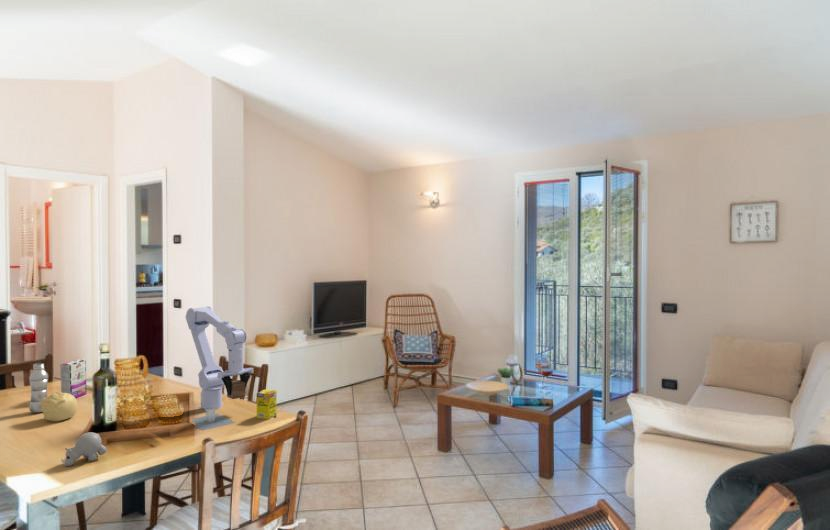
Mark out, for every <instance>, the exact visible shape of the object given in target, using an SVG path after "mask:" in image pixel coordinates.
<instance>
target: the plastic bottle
mask: <svg viewBox="0 0 830 530" xmlns="http://www.w3.org/2000/svg"><path fill="white" fill-rule="evenodd" d="M32 366H33V367H32V369H33V371H32V372H31V374H30V375H29V377H28V380H29V385H30V386H29V387H30V401H29V406H28V408H29V411H30V413H31V414H32V413H33V414H36V413H38V414H39V413H43V411H42V409H41V404H40V402H41V400H42V399H44V398H45V397H46V396H48V382H49V373H48V372H47V371H46V370H45V363H43V362H42V363H40V362H38V363H34V364H32Z"/></svg>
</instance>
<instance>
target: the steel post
mask: <svg viewBox="0 0 830 530" xmlns="http://www.w3.org/2000/svg"><path fill="white" fill-rule="evenodd" d="M215 414H216V409H215V408H212V407H211V408H206V410H205V416H206V422H207V423H211V422H215Z"/></svg>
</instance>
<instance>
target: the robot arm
mask: <svg viewBox="0 0 830 530" xmlns="http://www.w3.org/2000/svg"><path fill="white" fill-rule="evenodd" d="M185 321H186V323H187V326H188V329H189V331H190V333H191V337H192V340H193V342H194V346H195V349H196V351H197V355H198V359H199V361H200V365H201V370H199V372H198V374H197V375H198V384H199V387H200V388H201V389H202V390H201V392H200V407H198V409H199V410H201V409H204V410H205V411H206V408H211V407H212V408H215V410H219V409H221V408H222V407H223V388H224V387H225V389H226V395H227V394H228V395H231V385H232V381H234V380H233V378H232V377H236V376H239V380H241V381H243V382H245V389H246V388H247V385H248V382H249V380H250V378H251V374H254V371H255V370H254V369H255V368H254V367H245V368H244V343H246V342H247V341H246V340H247V333H246V332H245V330H244V329H243V328H242V329H239V328H236V327H235V326H234V325H232V324H231V323H230V321H228V320H222V319H221V318H219V316H218V315H217V314H215V310H214V308H212V307H211V306H205V307H204V306H203V307H189V308H188V309H187V311H186V314H185ZM210 325H212V326H213V327H215V328H216V329H215V330H216V332H217V333H218V334H219V335H220V336H221V337H223V338H224V341H225V343H226V348H227V350H228V351H227V352H228V358H227V359H228V370H225V371H224V370H223V367H222V366H220V365H218V364H216V362H215V358H214V356H213V352H212V350H211V347H210V343H209V339H208V336H207V335H206V329H207V328H208V327H209V326H210Z"/></svg>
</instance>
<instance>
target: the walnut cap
mask: <svg viewBox="0 0 830 530" xmlns="http://www.w3.org/2000/svg"><path fill="white" fill-rule="evenodd" d="M226 397H227V398H229V399H231V400H237V399H241V398H246V388H245V382H243V381H241V380H240V379H237V380H232V385H231V395H228V394H227V393H226Z"/></svg>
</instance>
